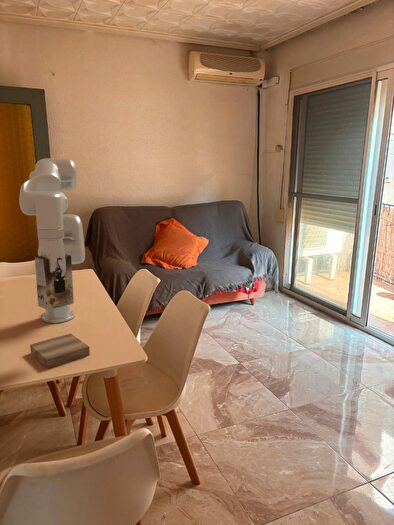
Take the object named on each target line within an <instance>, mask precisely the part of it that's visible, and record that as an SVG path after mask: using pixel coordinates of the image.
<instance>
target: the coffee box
mask: <svg viewBox="0 0 394 525" xmlns="http://www.w3.org/2000/svg"><path fill="white" fill-rule="evenodd" d="M65 261H66V273H65V290H66V291H65V292H62V293H57V294H56V293H55V288H54V281H55V277H54V271H53V272H52V273H50V272H49V260H48V259H46V258H44V257H42V256H34V264H35V279H36V291H37V306H38V307H39V308H42V309H44V310H45V309H46V310H52V309H55V308H59V307H63V306H66V305H70V306H71V305H73V304H74V302H75V300H74V284H73V264H72V262H71V255H68V254H65ZM56 270H60V269H59V268H56ZM56 270H55V271H56ZM58 274H59V273H57V276H58Z"/></svg>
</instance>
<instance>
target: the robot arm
mask: <svg viewBox="0 0 394 525" xmlns="http://www.w3.org/2000/svg"><path fill="white" fill-rule="evenodd" d="M28 178H29V179H28V180H26V181H24V182H23V183H22V184H21V186H20V189H19V198H18V200H19V201H18V202H19V209H20V211H21V213H23V214H24V215H26V216H35V217H36V228H37V230H36V231H37V240H38V248H37V255H38V256H42V257H44V258H46V259H48V260H49V272H50V273H52V272H53V271H54V277H55V281H54V288H55V293H56V294H57V293H62V292H65V291H66V290H65V273H66V261H65V254H68V255H71V262H72V265H78V264H79V265H80V264H81V263H82V264H83V263H84V261H85V259H86V250H85V239H84V230H83V223H82V222H83V221H82V219H81V218H80V216H79V215H77V214H65V212H66V211H67V209H68V207H69V206H68V205H69V203H68V202H69V200H68V197H67V196H66V194H65V193H64V192H71V191H74V190H75V189H76V188H77V180H78V170H77V166H76V164H75V162H74V161H73V160H72V159H70V158H52V157H51V158H42V159H39V160H38V161H37V162H36V164H35V165H34V170H33V171H31V172H30V173H29V177H28ZM63 239H70V240H63ZM56 268H59V269H60V270H56ZM55 270H56V271H55ZM57 273H59V274H58V276H57ZM44 312H45V313H44V314H42V316H41V320H42V322H44V323H48V324H49V323H50V324H56V323H59V324H60V323H65V322H67V321H71V320H72V319H73V318H74V317H75V312H74V311H73V310H71V304H70V305H66V306H63V307H59V308H55V309H52V310H46V309H44Z"/></svg>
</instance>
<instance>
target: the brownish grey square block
mask: <svg viewBox="0 0 394 525" xmlns="http://www.w3.org/2000/svg"><path fill="white" fill-rule="evenodd" d="M29 348H30V354H31V355H32V356H33V357H35V359H36V360H37V361H39V363H41V364H42V366H44V367H45V368H46V369H48V370H49V369H50V368H53V367H57V366H61V365H64V364H65V363H70V362H73V361H75V360H79V359H81V358H85V357H87V356H90V355H91V353H90V346H89V345H88V344H86V343H85V342H84V341H82V339H81V340H80V338H78V337H76V335H74V334H73V333H68V334H67V333H66V334H64V335H60V336H56V337H52V338H49V339H45V340H42V341H38V342H36V343H35V342H34V343H31V344H29Z"/></svg>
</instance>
